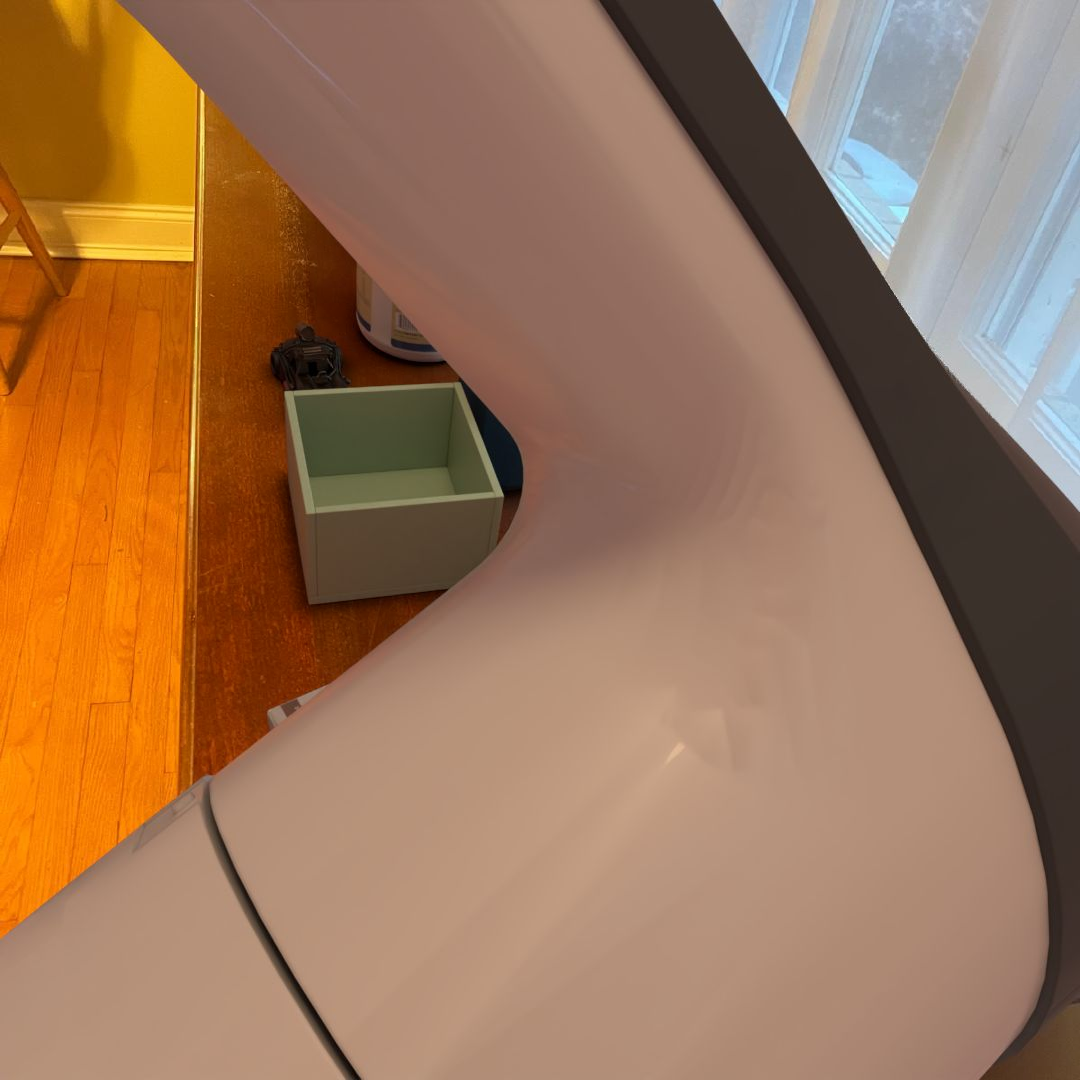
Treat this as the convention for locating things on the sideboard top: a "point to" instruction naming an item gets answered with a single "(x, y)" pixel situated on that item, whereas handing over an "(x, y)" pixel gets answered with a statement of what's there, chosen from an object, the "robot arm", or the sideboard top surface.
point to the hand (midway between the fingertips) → (426, 958)
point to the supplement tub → (389, 324)
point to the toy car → (308, 362)
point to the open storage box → (388, 489)
